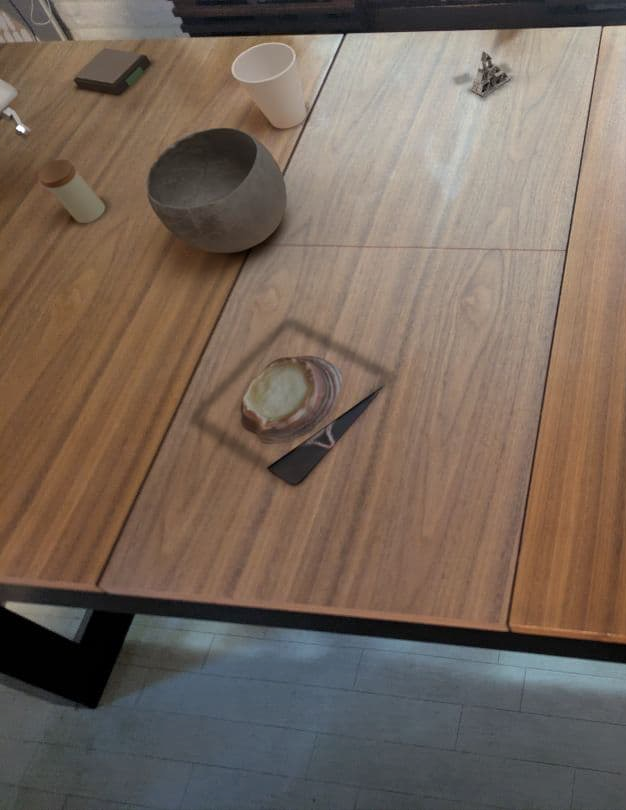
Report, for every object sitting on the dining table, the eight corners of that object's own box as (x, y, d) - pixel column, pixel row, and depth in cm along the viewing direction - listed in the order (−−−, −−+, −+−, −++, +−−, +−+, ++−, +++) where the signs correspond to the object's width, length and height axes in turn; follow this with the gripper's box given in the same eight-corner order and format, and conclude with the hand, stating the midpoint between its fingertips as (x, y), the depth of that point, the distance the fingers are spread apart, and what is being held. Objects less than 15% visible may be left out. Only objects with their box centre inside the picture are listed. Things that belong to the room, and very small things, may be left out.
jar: (83, 231, 127) (44, 187, 118) (72, 215, 130) (33, 171, 121) (113, 214, 129) (76, 170, 120) (101, 199, 131) (64, 154, 123)
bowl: (249, 175, 131) (209, 105, 118) (326, 215, 123) (293, 144, 111) (163, 247, 123) (110, 180, 110) (240, 294, 116) (193, 228, 103)
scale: (123, 99, 147) (113, 84, 144) (81, 91, 150) (71, 77, 147) (154, 67, 152) (145, 52, 149) (113, 60, 155) (103, 46, 152)
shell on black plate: (390, 380, 104) (382, 364, 101) (296, 488, 96) (284, 475, 93) (290, 324, 111) (279, 308, 108) (195, 421, 104) (181, 407, 100)
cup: (302, 144, 134) (274, 85, 123) (249, 135, 137) (218, 77, 126) (330, 104, 140) (306, 45, 129) (279, 97, 142) (251, 38, 132)
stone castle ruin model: (490, 62, 142) (483, 25, 135) (518, 80, 138) (513, 43, 132) (455, 84, 139) (447, 48, 133) (484, 103, 136) (477, 66, 129)
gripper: (-34, 67, 122) (49, 123, 128) (-124, 145, 113) (-30, 201, 118) (-35, 45, 117) (51, 105, 123) (-130, 125, 108) (-32, 185, 113)
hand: (10, 153), depth 121 cm, fingers open, 8 cm apart
